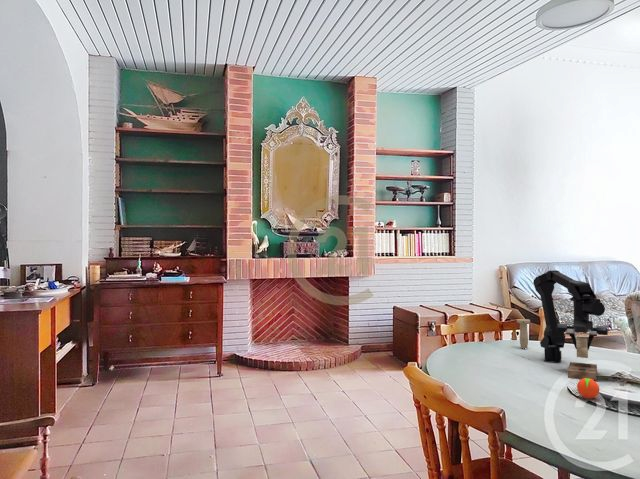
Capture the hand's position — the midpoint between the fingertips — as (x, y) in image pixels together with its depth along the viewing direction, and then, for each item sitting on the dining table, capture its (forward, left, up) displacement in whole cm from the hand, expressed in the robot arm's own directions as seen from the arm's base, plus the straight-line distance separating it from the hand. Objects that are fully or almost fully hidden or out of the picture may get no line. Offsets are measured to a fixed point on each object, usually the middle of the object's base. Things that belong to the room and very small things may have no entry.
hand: (582, 349), depth 197 cm
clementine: (+3, -36, -10) cm, 37 cm away
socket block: (0, -4, -10) cm, 10 cm away
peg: (0, 0, -3) cm, 3 cm away
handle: (-28, +35, -10) cm, 46 cm away
